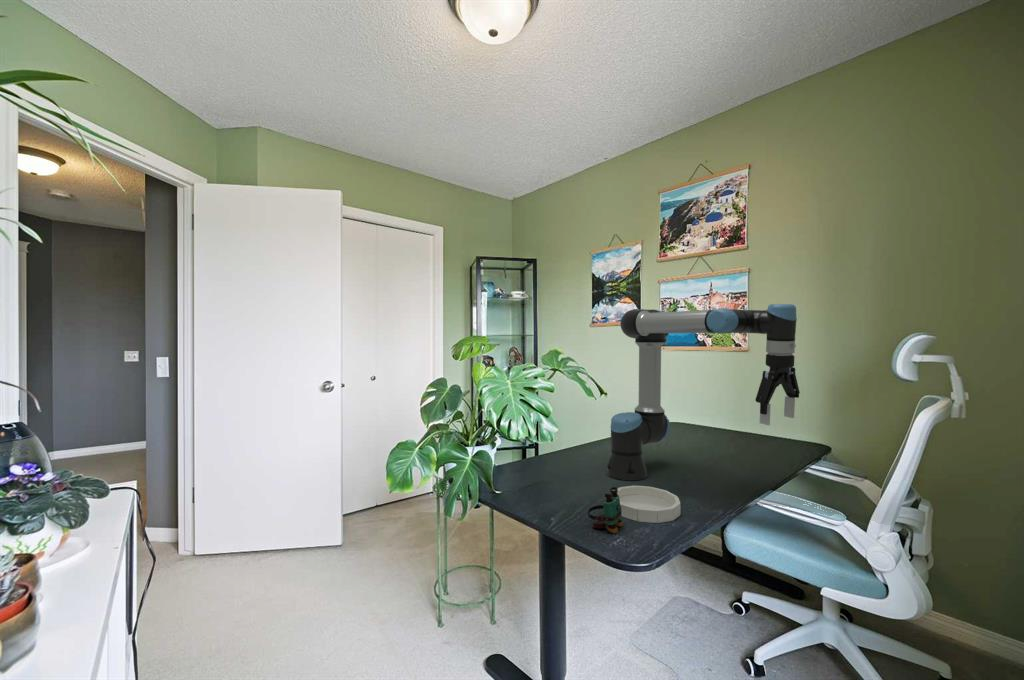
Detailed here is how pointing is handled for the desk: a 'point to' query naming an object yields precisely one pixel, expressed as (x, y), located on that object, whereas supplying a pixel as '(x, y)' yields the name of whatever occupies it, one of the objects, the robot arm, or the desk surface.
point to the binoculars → (609, 512)
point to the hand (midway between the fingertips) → (777, 420)
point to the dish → (648, 504)
